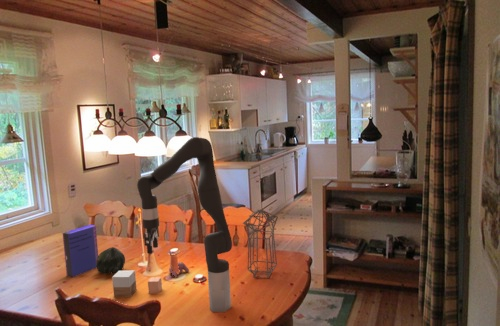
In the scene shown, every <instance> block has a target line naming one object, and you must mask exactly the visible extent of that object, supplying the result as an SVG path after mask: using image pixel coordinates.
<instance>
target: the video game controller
mask: <svg viewBox="0 0 500 326" xmlns="http://www.w3.org/2000/svg"><path fill="white" fill-rule="evenodd" d="M177 263H178V266H179V268H178V269H179V270H180V273H179V274H183V271H184V272H186V273H189V272H190V270H189V268H188V266H187V265H186V264H185V263H184V262H180V261H179V262H177ZM168 269H169V272H170V274H171V273H172V274H171V275H172V276H173V275H174V276H175V277H177V278H178V274H176V272H174V271H172V270H171V266H170V267H169V268H168ZM174 276H173V277H174ZM175 277H174V278H175Z"/></svg>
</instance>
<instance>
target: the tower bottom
mask: <svg viewBox="0 0 500 326" xmlns="http://www.w3.org/2000/svg"><path fill="white" fill-rule="evenodd" d="M112 288H113V289H112V290H113V298H131V297H132V296H133V295H134V293H135V292H136V291H137V280H136V281H135V282H134V283H133V284H132V285H131V286H130V287H113V286H112Z"/></svg>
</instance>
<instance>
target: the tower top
mask: <svg viewBox="0 0 500 326" xmlns="http://www.w3.org/2000/svg"><path fill="white" fill-rule="evenodd" d="M111 279H112V288H113V287H130V286H131V285H132V284H133V283H134V282H135V281H136V282H137V279H136V270H135V269H134V270H132V269H131V270H121V271H118V272H117V273H116V274H114V275H113V276H112V277H111Z"/></svg>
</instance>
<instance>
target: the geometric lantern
mask: <svg viewBox="0 0 500 326" xmlns="http://www.w3.org/2000/svg"><path fill="white" fill-rule="evenodd" d="M270 215H271V216H270ZM252 218H255V220H254V221H253V223H251V220H252ZM263 219H265V221H263ZM257 220H258V224H255V223H256V221H257ZM277 221H278V216H277V215H274V214H272V213H270V212H268V211H266V210H264V209H262V208H260V209H257V210H255V211H254V212H253V213H251V214H250V215H248V218H247V219H246V220H245V221H242V224H243V225H245V226H246V232H247V238H248V247H247V249H248V251H247V271H249V272H250V273H251V274H253V275H252V278H255V279H270V278H271V274H272V273H273V271H274V270H275V268H276V267H277V265H278V261H277V251H276V243H275V242H276V241H275V226H276V224H277ZM262 223H263V224H262ZM254 227H257V228H256V229H254ZM260 227H261V228H260ZM268 227H269V228H270V230H271V231H270V230H267V231H266V230H264V229H266V228H268ZM249 228H250V229H251V230H252V231H251V232H250V233H249ZM258 232H260V234H261V235H262V236H263V238H262V237H258V236H259V235H258ZM263 232H264V233H270V235H269V237H267V238H266V237H265V235H264V234H263ZM255 233H256V237H255ZM255 239H256V260H254V258H255V256H254V255H255ZM259 240H265V255H266V260H265V261H264V260H263V261H262V260H258V259H259V258H258V254H259V252H258V250H259V248H258V247H259V244H258V241H259ZM267 240H268V244H267ZM268 245H269V256H270V261H269V260H268ZM271 246H272V247H271ZM274 258H275V259H274ZM255 263H256V264H258V263H266V270H259V267H258V265H255ZM269 263H270V266H269ZM273 264H274V265H273ZM252 266H254V270H253V269H252ZM256 275H259V276H256ZM260 276H261V277H260ZM262 276H263V277H262ZM264 276H266V277H264Z"/></svg>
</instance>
